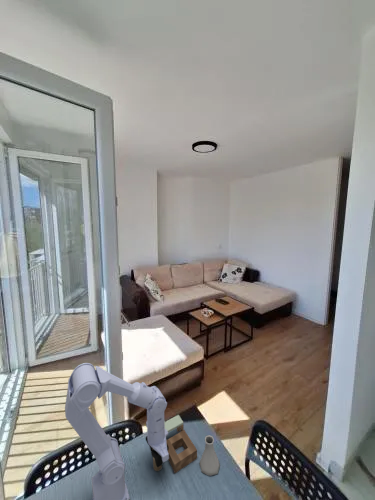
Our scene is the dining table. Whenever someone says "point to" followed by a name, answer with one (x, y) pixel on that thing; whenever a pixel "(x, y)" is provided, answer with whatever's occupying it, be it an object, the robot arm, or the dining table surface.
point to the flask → (209, 458)
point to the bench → (174, 424)
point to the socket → (183, 457)
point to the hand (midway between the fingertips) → (157, 460)
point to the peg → (156, 466)
